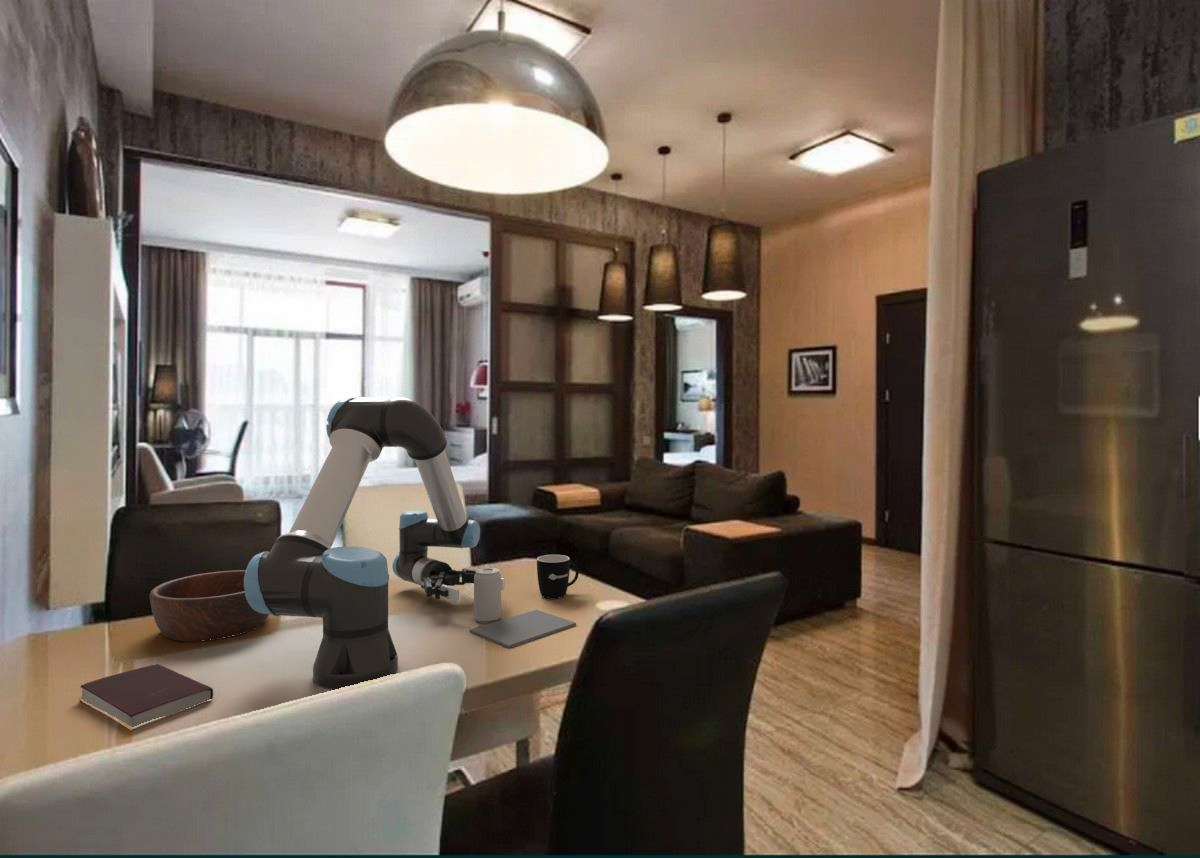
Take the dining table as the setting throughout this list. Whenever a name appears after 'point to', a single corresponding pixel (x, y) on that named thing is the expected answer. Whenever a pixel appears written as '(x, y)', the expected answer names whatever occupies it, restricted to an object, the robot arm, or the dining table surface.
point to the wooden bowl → (204, 607)
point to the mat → (522, 628)
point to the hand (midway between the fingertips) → (481, 589)
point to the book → (145, 694)
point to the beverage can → (487, 595)
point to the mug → (554, 575)
